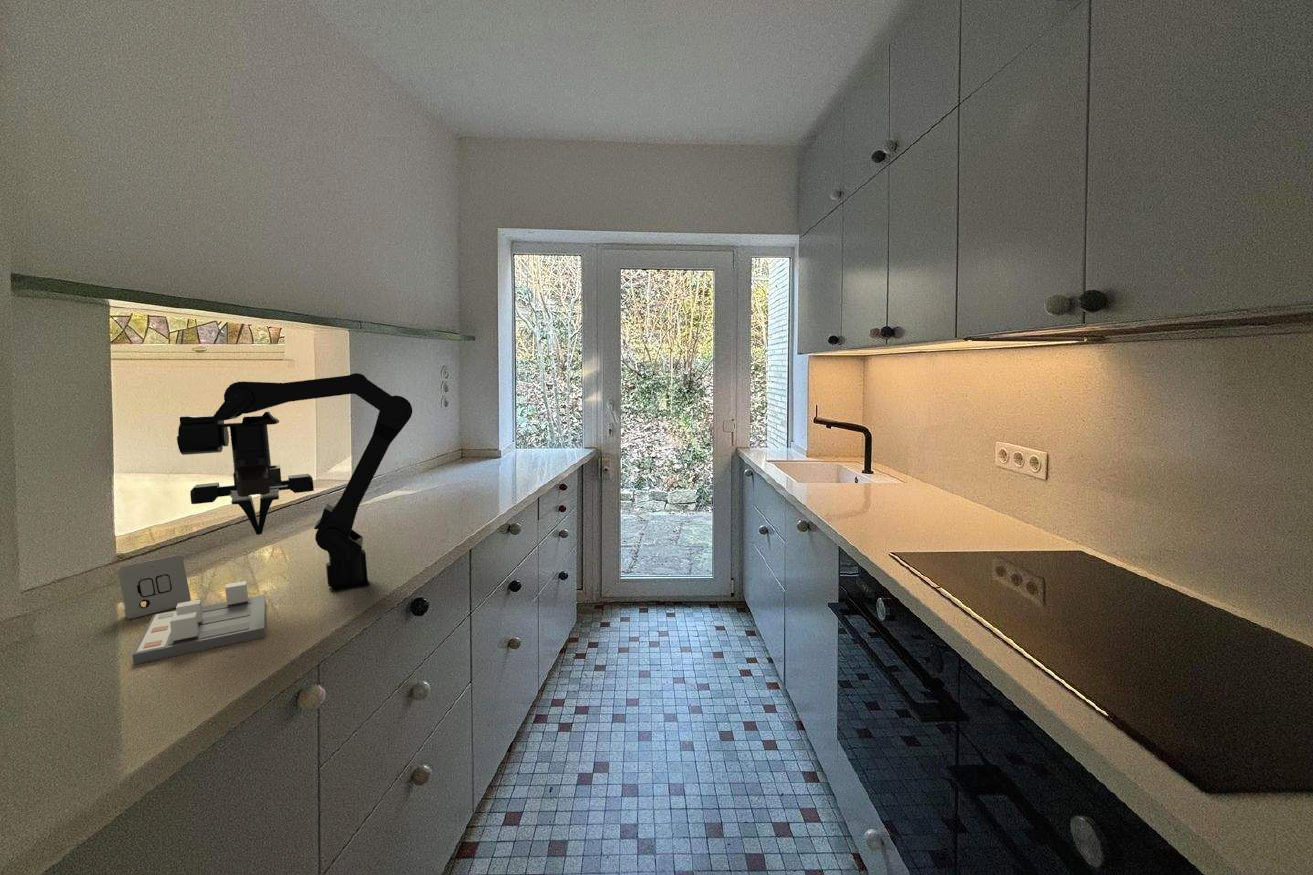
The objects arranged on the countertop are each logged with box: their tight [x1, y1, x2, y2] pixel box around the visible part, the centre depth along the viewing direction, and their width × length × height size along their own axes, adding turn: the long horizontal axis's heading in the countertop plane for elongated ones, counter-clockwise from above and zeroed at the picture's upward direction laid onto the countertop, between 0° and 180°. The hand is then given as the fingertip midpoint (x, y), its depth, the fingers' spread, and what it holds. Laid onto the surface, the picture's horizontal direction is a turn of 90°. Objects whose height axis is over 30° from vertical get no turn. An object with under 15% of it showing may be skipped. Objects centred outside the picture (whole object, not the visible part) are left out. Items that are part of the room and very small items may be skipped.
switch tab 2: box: [170, 612, 199, 641], centre depth 95 cm, size 3×2×3 cm
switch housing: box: [132, 594, 267, 665], centre depth 102 cm, size 16×19×2 cm
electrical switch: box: [116, 554, 192, 620], centre depth 113 cm, size 9×5×9 cm, turn 141°
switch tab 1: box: [175, 599, 203, 622], centre depth 101 cm, size 3×2×3 cm
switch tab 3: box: [224, 580, 249, 605], centre depth 110 cm, size 3×2×3 cm
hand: (259, 534), depth 116 cm, fingers closed
